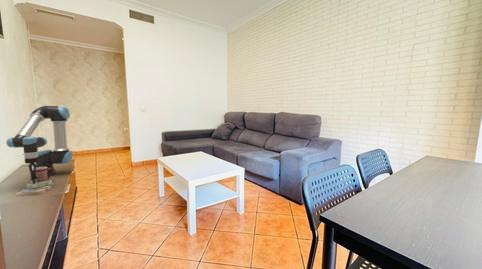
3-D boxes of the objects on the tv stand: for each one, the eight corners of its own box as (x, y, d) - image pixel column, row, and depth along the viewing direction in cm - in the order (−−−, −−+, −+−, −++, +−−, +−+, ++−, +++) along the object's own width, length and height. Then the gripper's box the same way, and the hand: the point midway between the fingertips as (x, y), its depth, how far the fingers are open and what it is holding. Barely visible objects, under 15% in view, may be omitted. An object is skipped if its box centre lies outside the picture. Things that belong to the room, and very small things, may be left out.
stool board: (34, 186, 173) (33, 179, 172) (54, 185, 176) (53, 178, 175) (16, 196, 155) (15, 188, 155) (39, 194, 159) (38, 187, 158)
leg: (51, 183, 175) (51, 178, 174) (52, 184, 173) (52, 179, 172) (26, 188, 163) (26, 183, 163) (27, 189, 161) (26, 184, 161)
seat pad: (27, 187, 166) (27, 187, 166) (44, 187, 168) (43, 186, 168) (16, 193, 155) (16, 193, 155) (34, 192, 158) (34, 192, 158)
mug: (37, 186, 174) (35, 170, 172) (31, 184, 177) (30, 168, 176) (56, 181, 185) (54, 166, 183) (50, 179, 189) (49, 165, 187)
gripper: (24, 156, 162) (27, 186, 166) (24, 159, 154) (28, 191, 157) (37, 155, 168) (40, 183, 171) (39, 158, 159) (41, 188, 162)
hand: (34, 187), depth 164 cm, fingers closed
